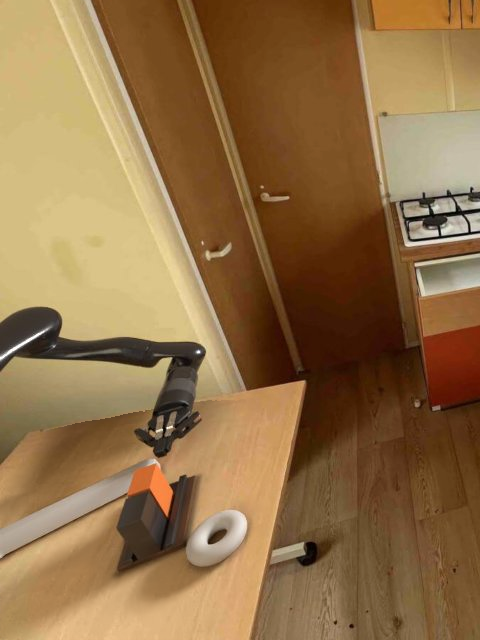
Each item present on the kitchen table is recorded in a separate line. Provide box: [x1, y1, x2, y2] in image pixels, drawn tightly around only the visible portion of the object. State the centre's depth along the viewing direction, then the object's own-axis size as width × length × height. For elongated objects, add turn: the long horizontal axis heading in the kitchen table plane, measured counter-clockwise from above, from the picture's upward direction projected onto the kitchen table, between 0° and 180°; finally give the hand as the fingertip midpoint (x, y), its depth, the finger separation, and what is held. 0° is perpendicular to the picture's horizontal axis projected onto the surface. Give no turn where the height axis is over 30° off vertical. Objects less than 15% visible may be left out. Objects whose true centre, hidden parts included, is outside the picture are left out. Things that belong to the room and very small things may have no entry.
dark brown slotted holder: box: [115, 473, 198, 574], centre depth 83 cm, size 10×16×11 cm, turn 27°
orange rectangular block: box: [126, 463, 174, 520], centre depth 84 cm, size 4×6×10 cm, turn 27°
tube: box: [0, 458, 162, 559], centre depth 87 cm, size 5×5×25 cm
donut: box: [185, 509, 248, 568], centre depth 81 cm, size 10×3×10 cm
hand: (160, 454), depth 91 cm, fingers closed
